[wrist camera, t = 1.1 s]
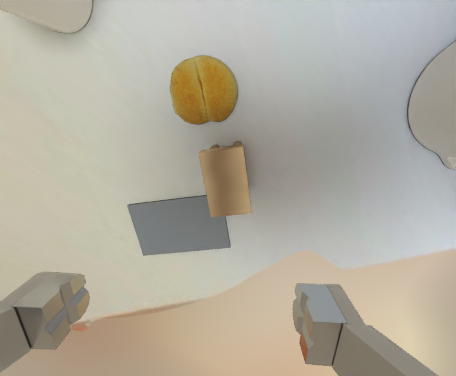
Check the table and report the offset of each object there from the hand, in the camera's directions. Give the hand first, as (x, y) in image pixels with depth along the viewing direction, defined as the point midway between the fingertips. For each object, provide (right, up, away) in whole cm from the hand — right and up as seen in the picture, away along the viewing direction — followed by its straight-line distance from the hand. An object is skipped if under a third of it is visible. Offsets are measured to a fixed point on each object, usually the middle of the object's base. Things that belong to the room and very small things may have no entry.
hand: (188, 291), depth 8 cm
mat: (-7, -3, +28) cm, 29 cm away
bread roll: (-2, +17, +22) cm, 28 cm away
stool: (+2, +7, +24) cm, 25 cm away
